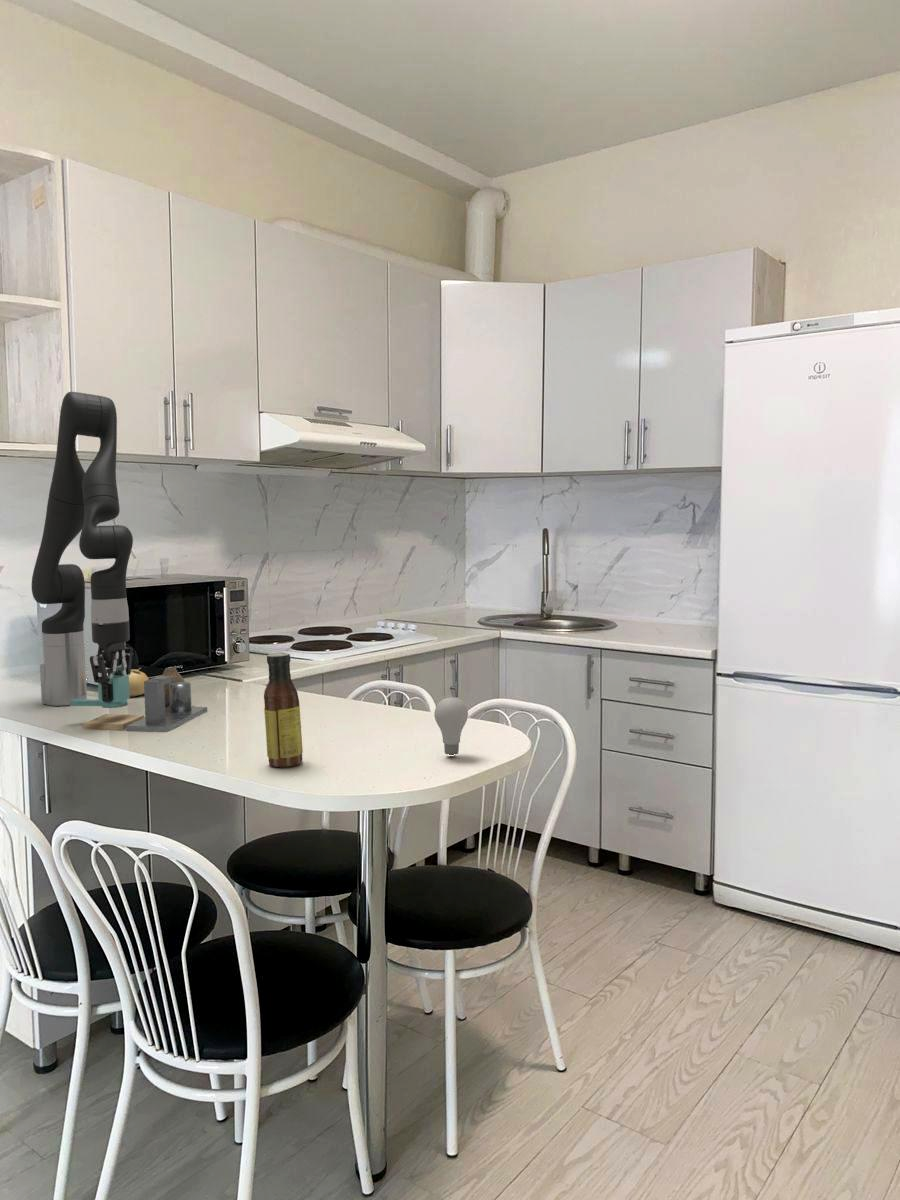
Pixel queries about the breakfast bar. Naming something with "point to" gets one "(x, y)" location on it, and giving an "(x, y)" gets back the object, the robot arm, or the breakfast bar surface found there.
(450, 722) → the lightbulb
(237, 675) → the breakfast bar surface
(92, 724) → the wooden coaster
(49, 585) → the robot arm
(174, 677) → the vase
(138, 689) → the onion
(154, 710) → the post
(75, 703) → the teal block with handle
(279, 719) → the sauce bottle
